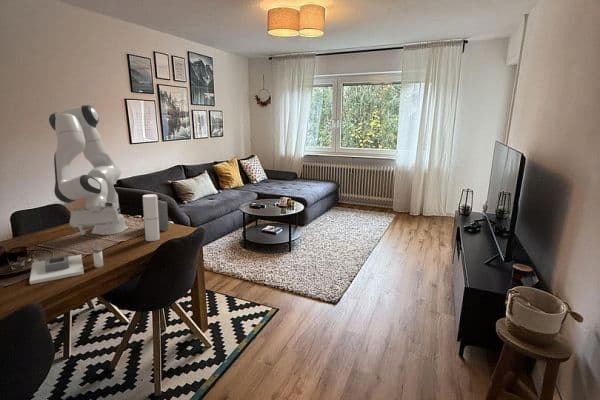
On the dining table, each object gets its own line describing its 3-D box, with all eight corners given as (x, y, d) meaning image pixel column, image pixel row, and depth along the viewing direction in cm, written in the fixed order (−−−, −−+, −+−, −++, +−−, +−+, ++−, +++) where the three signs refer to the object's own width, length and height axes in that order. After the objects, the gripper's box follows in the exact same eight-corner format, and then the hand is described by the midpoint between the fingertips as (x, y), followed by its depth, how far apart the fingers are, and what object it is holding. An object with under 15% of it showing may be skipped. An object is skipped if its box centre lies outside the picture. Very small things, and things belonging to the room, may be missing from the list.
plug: (94, 265, 148) (92, 248, 146) (103, 263, 150) (101, 247, 148) (94, 268, 145) (92, 251, 143) (103, 266, 147) (102, 249, 145)
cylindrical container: (154, 241, 178) (151, 197, 172) (142, 240, 180) (139, 196, 174) (162, 237, 185) (159, 194, 179) (151, 236, 186) (148, 193, 181)
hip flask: (143, 228, 199) (141, 196, 194) (147, 226, 203) (145, 195, 198) (166, 231, 196) (164, 199, 191) (170, 229, 199) (168, 197, 195)
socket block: (33, 265, 144) (31, 256, 143) (81, 257, 155) (80, 248, 154) (30, 284, 129) (28, 274, 128) (84, 273, 139) (82, 264, 138)
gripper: (69, 205, 152) (66, 232, 146) (118, 203, 160) (117, 228, 153) (73, 212, 157) (69, 238, 151) (120, 209, 165) (119, 234, 158)
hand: (94, 233), depth 152 cm, fingers open, 8 cm apart
